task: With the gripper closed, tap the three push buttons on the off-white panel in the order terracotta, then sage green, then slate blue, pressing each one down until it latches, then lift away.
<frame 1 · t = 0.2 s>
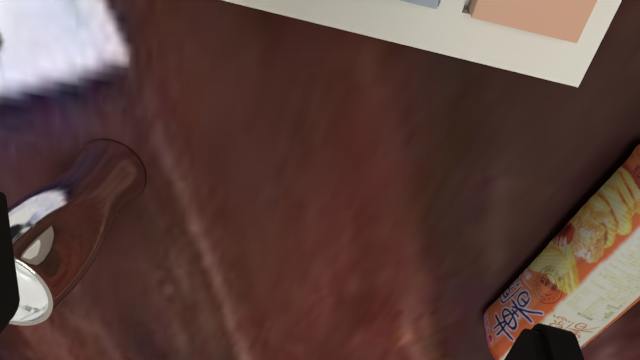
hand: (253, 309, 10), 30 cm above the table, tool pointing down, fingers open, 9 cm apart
beer glass: (114, 168, 47), on the table
snack package: (581, 243, 44), on the table
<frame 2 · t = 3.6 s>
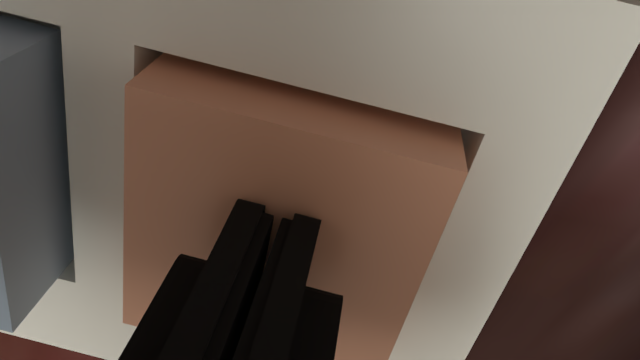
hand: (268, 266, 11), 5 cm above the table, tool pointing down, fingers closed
button panel: (32, 71, 15), on the table
button terracotta: (281, 222, 12), point 4 cm above the table, slide at 1.0 cm, touching gripper
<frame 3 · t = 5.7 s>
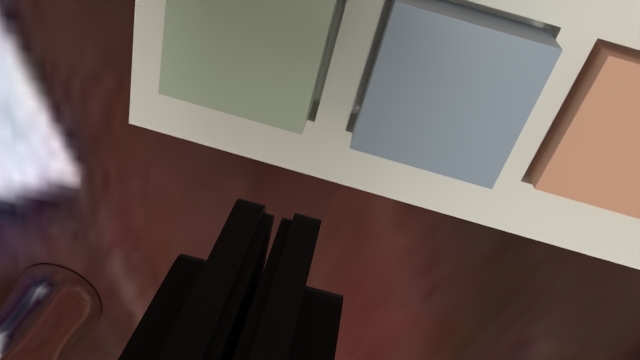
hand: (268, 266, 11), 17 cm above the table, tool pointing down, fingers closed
beer glass: (62, 294, 38), on the table
button panel: (440, 52, 25), on the table
button sage: (250, 34, 21), point 5 cm above the table, slide at 0.0 cm
button slate: (445, 90, 21), point 5 cm above the table, slide at 0.0 cm
button terracotta: (631, 134, 22), point 4 cm above the table, slide at 1.1 cm
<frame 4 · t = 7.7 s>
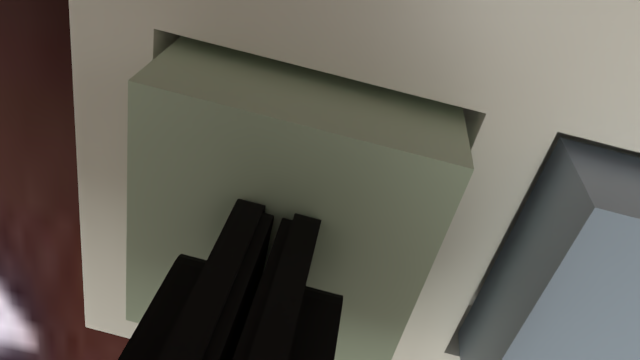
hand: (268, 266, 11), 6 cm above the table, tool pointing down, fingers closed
button panel: (587, 197, 15), on the table
button sage: (285, 219, 12), point 5 cm above the table, slide at 0.2 cm, touching gripper
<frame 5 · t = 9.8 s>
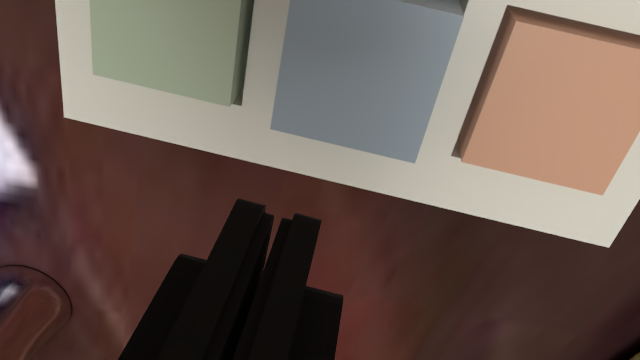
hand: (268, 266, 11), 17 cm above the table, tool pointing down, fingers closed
beer glass: (33, 295, 39), on the table
button panel: (369, 31, 25), on the table
button sage: (174, 12, 22), point 4 cm above the table, slide at 1.1 cm
button slate: (361, 66, 21), point 5 cm above the table, slide at 0.0 cm
button terracotta: (555, 102, 22), point 4 cm above the table, slide at 1.1 cm
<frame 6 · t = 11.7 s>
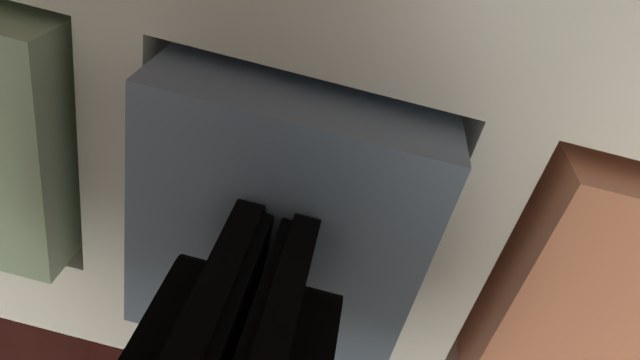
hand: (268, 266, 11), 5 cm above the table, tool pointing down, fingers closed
button panel: (312, 133, 15), on the table
button slate: (283, 219, 12), point 4 cm above the table, slide at 0.6 cm, touching gripper
button terracotta: (634, 296, 12), point 4 cm above the table, slide at 1.1 cm
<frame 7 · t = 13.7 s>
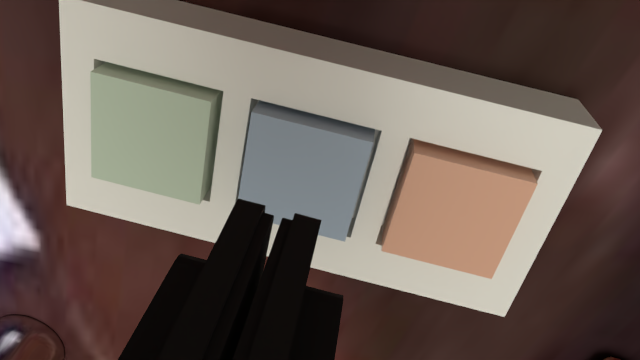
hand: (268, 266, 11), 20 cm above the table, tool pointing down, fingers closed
beer glass: (31, 340, 44), on the table
button panel: (314, 139, 31), on the table
button sage: (157, 131, 28), point 4 cm above the table, slide at 1.1 cm
button slate: (304, 168, 28), point 4 cm above the table, slide at 1.1 cm
button terracotta: (453, 206, 28), point 4 cm above the table, slide at 1.1 cm
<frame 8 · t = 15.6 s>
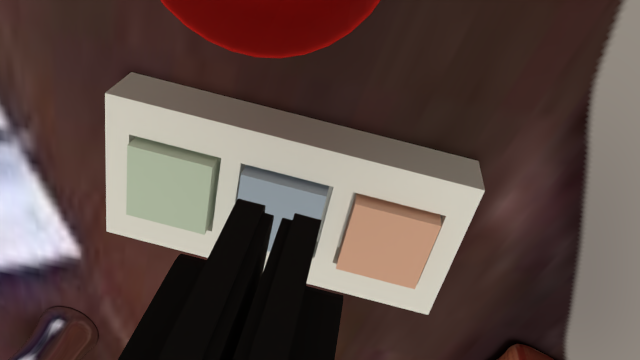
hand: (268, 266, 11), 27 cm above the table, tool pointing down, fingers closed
beer glass: (71, 326, 55), on the table
button panel: (289, 183, 42), on the table
button sage: (174, 182, 39), point 4 cm above the table, slide at 1.1 cm
button slate: (280, 210, 39), point 4 cm above the table, slide at 1.1 cm
button terracotta: (386, 237, 39), point 4 cm above the table, slide at 1.1 cm
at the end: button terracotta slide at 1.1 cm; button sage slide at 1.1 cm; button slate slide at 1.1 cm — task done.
